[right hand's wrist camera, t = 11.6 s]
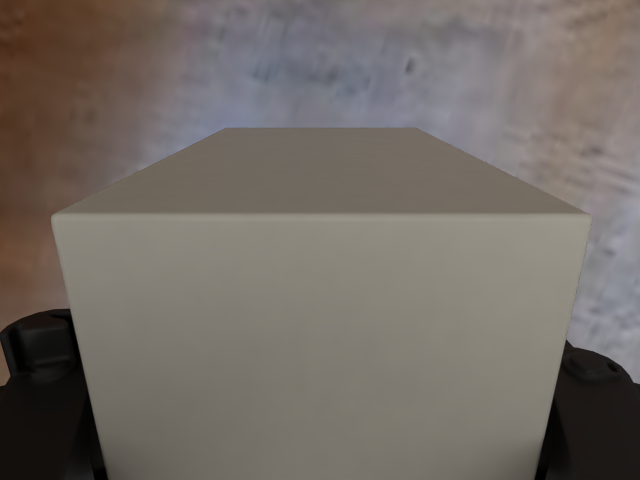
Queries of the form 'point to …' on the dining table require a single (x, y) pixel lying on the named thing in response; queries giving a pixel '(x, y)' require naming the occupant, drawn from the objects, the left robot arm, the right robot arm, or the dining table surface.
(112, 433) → the box
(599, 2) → the dining table surface
